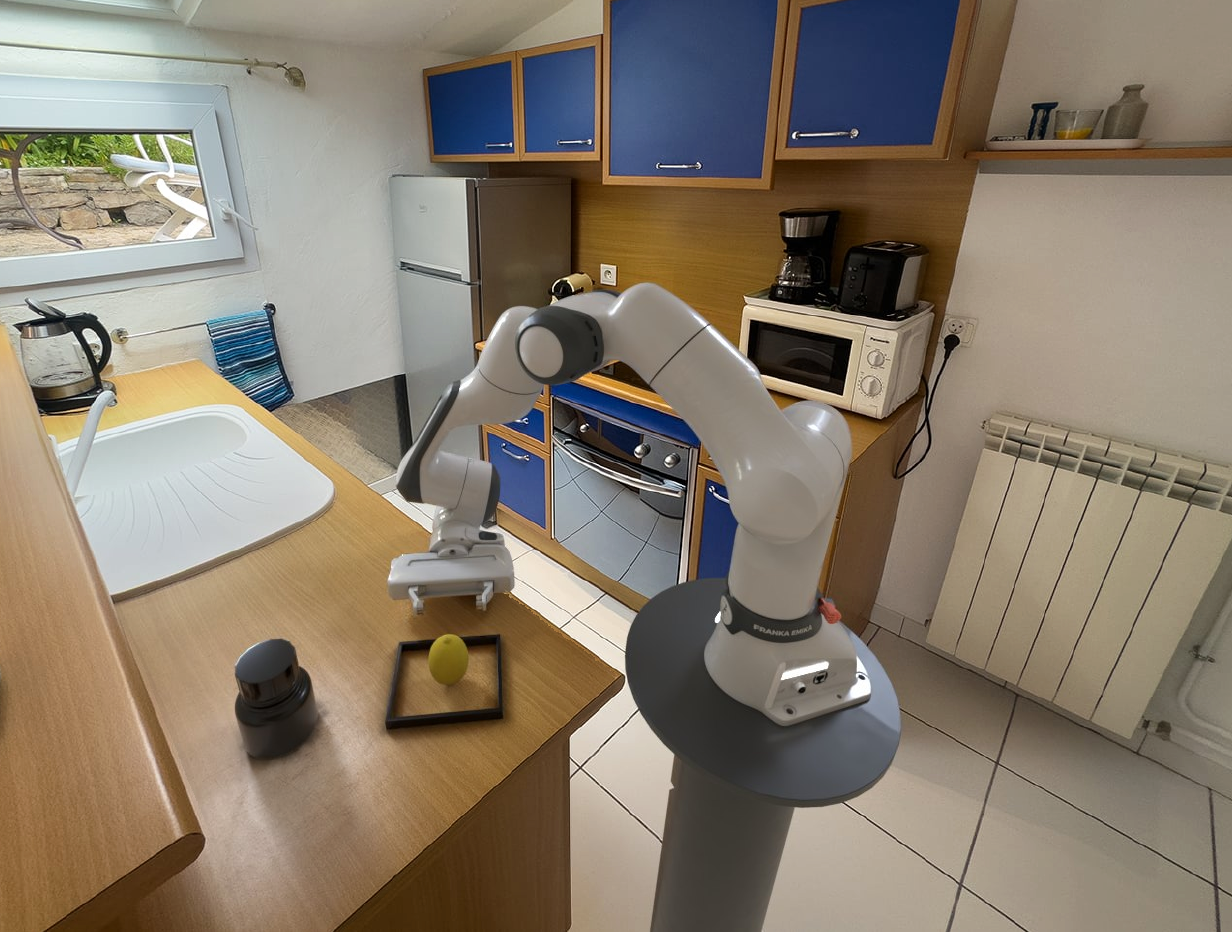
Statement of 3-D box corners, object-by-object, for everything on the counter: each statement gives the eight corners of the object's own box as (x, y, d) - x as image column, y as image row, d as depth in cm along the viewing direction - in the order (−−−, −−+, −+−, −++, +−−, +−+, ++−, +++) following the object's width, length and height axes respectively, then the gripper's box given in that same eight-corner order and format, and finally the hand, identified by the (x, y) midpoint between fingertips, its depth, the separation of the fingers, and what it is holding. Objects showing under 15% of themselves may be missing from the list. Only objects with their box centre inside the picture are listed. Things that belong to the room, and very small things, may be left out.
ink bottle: (322, 689, 80) (309, 623, 76) (322, 746, 73) (307, 677, 68) (244, 711, 77) (225, 643, 73) (236, 773, 70) (214, 702, 65)
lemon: (439, 661, 85) (435, 619, 82) (475, 668, 84) (472, 626, 81) (423, 693, 80) (419, 650, 77) (461, 701, 79) (458, 657, 76)
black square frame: (500, 641, 89) (500, 633, 88) (503, 718, 77) (503, 711, 76) (399, 649, 87) (398, 641, 86) (385, 730, 75) (384, 721, 74)
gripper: (391, 540, 98) (377, 598, 85) (512, 533, 100) (515, 589, 87) (395, 570, 100) (382, 631, 88) (512, 562, 103) (516, 621, 90)
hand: (450, 610), depth 88 cm, fingers open, 8 cm apart
